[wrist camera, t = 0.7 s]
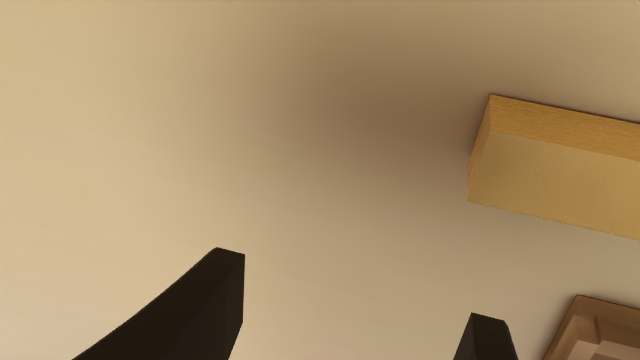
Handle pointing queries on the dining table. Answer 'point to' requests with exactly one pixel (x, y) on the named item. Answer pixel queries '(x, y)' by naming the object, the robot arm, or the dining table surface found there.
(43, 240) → the dining table surface
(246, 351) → the dining table surface
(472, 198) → the bar
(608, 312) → the brown square tray
